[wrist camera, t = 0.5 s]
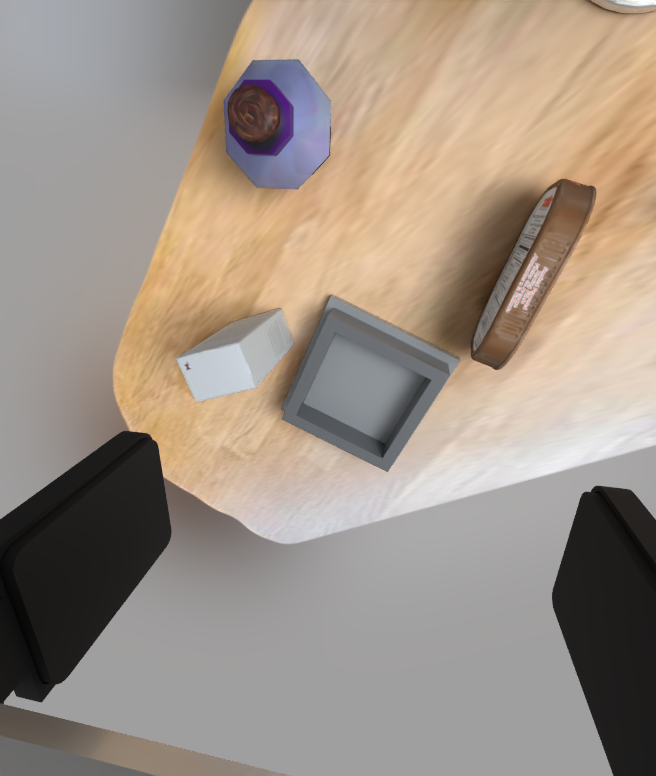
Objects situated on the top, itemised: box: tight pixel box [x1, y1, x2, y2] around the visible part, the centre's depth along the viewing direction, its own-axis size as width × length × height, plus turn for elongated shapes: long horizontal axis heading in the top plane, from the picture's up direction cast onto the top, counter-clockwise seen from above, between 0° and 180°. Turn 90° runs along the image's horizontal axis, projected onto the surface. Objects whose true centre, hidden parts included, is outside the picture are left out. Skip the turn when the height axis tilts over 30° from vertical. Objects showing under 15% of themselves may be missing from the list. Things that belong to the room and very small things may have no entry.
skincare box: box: [176, 308, 294, 402], centre depth 39 cm, size 6×4×12 cm
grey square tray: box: [281, 295, 460, 472], centre depth 42 cm, size 14×14×4 cm
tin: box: [471, 179, 596, 370], centre depth 33 cm, size 15×3×8 cm, turn 163°
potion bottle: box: [224, 60, 331, 189], centre depth 31 cm, size 9×9×12 cm
